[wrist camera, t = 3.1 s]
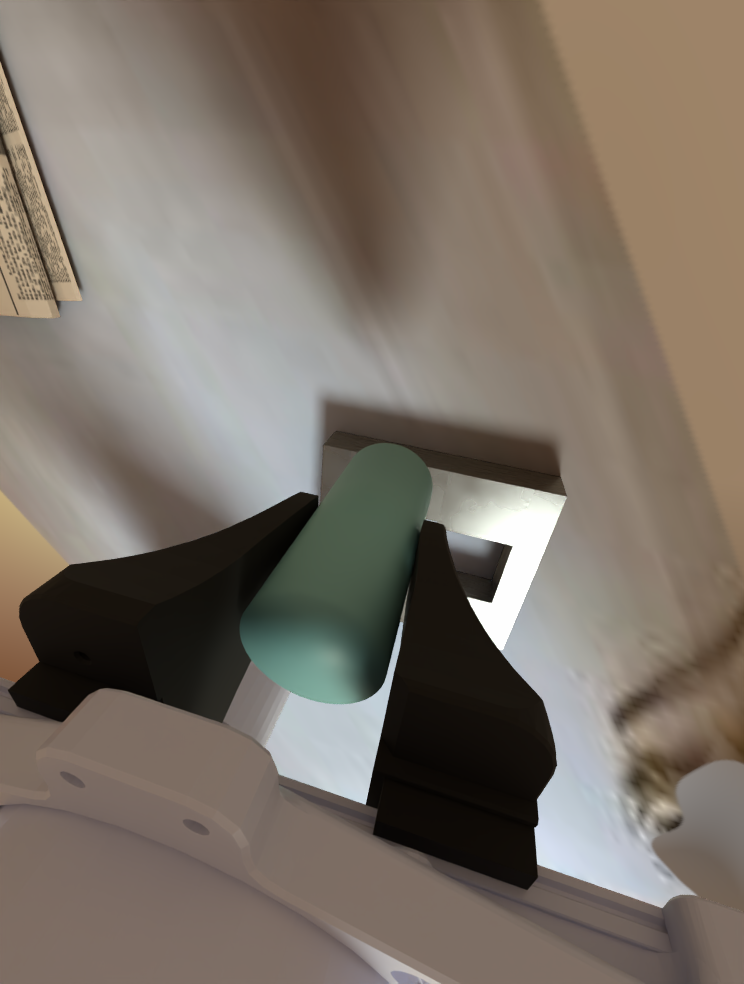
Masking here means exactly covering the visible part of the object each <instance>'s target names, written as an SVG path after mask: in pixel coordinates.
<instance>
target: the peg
mask: <svg viewBox="0 0 744 984" xmlns="http://www.w3.org/2000/svg"><path fill="white" fill-rule="evenodd" d="M432 490H433V483H432V477H431V474H430V472H429V470H428V468H427V466H426V464H425V463H424V462H423V461H422V459H421V458H420V457H419V456H418V455H416V454H415V453H414V452H412V451H411V450H409V449H407V448H405V447H403V446H400V445H396V444H391V443H378V444H373V445H370V446H367V447H365V448H363V449H362V450H360V451H359V452H358V453H357V454H356V455H355V456H354V457H353V458H352V460H351V461H350V462H349V464H348V465H347V467H346V468H345V470H344V471H343V472H342V474H341V475H340V477H339V478H338V479H337V481H336V482H335V484H334V485H333V487H332V488H331V489H330V491H329V492H328V494H327V495H326V496H325V498H324V499H323V501H322V502H321V504H320V505H319V506H318V508H317V509H316V511H315V512H314V513H313V515H312V516H311V518H310V519H309V521H308V522H307V523H306V525H305V526H304V528H303V529H302V530H301V532H300V533H299V535H298V536H297V538H296V539H295V540H294V542H293V543H292V545H291V546H290V547H289V549H288V550H287V552H286V553H285V555H284V556H283V557H282V559H281V560H280V562H279V563H278V564H277V566H276V567H275V569H274V570H273V572H272V573H271V574H270V576H269V577H268V579H267V580H266V581H265V583H264V584H263V586H262V587H261V589H260V590H259V591H258V593H257V594H256V596H255V597H254V598H253V600H252V601H251V603H250V604H249V606H248V607H247V608H246V610H245V611H244V613H243V615H242V617H241V621H240V637H241V641H242V644H243V646H244V648H245V651H246V653H247V654H248V656H249V657H250V659H251V660H252V661H253V663H254V664H255V665H256V666H257V667H258V668H259V669H260V670H261V672H263V673H264V674H265V675H266V676H267V677H268V678H270V679H271V680H272V681H274V682H275V683H276V684H278V685H279V686H281V687H283V688H284V689H286V690H288V691H290V692H292V693H294V694H296V695H299V696H301V697H304V698H307V699H310V700H314V701H317V702H322V703H329V704H350V703H355V702H360V701H362V700H365V699H367V698H369V697H371V696H372V695H374V694H375V693H376V692H377V691H378V690H379V689H380V688H381V687H382V685H383V683H384V681H385V678H386V675H387V671H388V667H389V663H390V659H391V655H392V651H393V647H394V643H395V639H396V635H397V631H398V627H399V623H400V619H401V615H402V611H403V607H404V603H405V599H406V595H407V591H408V587H409V583H410V579H411V575H412V571H413V567H414V561H415V555H416V550H417V545H418V540H419V536H420V531H421V527H422V524H423V521H424V520H426V516H427V512H428V508H429V504H430V500H431V496H432Z"/></svg>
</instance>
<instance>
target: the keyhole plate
mask: <svg viewBox="0 0 744 984" xmlns="http://www.w3.org/2000/svg"><path fill="white" fill-rule="evenodd" d="M378 443H391V444H396V445H400V446H403V447H405V448H407V449H409V450H411V451H412V452H414V453H415V454H416V455H418V456H419V457H420V458H421V459H422V461H423V462H424V463H425V464H426V466H427V468H428V470H429V472H430V474H431V477H432V483H433V490H432V496H431V500H430V504H429V508H428V512H427V516H426V519H428V520H433V521H437V523H440V524H443V525H444V526H445V527H446V530H448V531H452V532H456V533H460V534H465V535H469V536H473V537H477V538H482V539H486V540H490V541H494V542H499V543H503V544H505V545H504V548H503V551H502V553H501V556H500V559H499V562H498V565H497V568H496V570H495V573H494V576H493V579H492V580H489V579H485V578H481V577H477V576H473V575H469V574H465V573H461V572H457V571H456V572H457V575H458V577H459V580H460V582H461V585H462V587H463V589H464V592H465V594H466V596H467V598H468V600H469V602H470V604H471V606H472V608H473V610H474V612H475V613H476V615H477V617H478V619H479V620H480V622H481V624H482V625H483V627H484V629H485V630H486V632H487V633H488V635H489V636H490V637H491V639H492V640H493V642H494V643H495V645H496V646H497V648H498V649H501V650H503V647H504V645H505V643H506V640H507V638H508V635H509V633H510V631H511V628H512V626H513V624H514V621H515V619H516V617H517V614H518V612H519V609H520V607H521V605H522V602H523V600H524V598H525V595H526V593H527V590H528V588H529V586H530V583H531V581H532V579H533V576H534V574H535V571H536V569H537V567H538V564H539V562H540V560H541V557H542V555H543V552H544V550H545V548H546V545H547V543H548V541H549V538H550V536H551V533H552V531H553V529H554V526H555V524H556V522H557V519H558V517H559V515H560V512H561V510H562V507H563V505H564V503H565V500H566V498H567V495H566V492H565V489H564V485H563V482H562V479H561V477H557V476H553V475H548V474H543V473H538V472H533V471H528V470H523V469H518V468H514V467H509V466H504V465H499V464H494V463H489V462H484V461H479V460H475V459H470V458H465V457H460V456H455V455H450V454H445V453H441V452H436V451H431V450H426V449H421V448H416V447H411V446H406V445H402V444H397V443H392V442H387V441H382V440H377V439H372V438H367V437H363V436H358V435H353V434H348V433H343V432H338V431H336V432H335V433H334V434H333V435H332V436H331V437H330V438H329V439H328V440H327V442H326V443H325V444H324V445H323V463H322V483H321V502H322V501H323V499H324V498H325V496H326V495H327V494H328V492H329V491H330V489H331V488H332V487H333V485H334V484H335V482H336V481H337V479H338V478H339V477H340V475H341V474H342V472H343V471H344V470H345V468H346V467H347V465H348V464H349V462H350V461H351V460H352V458H353V457H354V456H355V455H356V454H357V453H358V452H359V451H360V450H362V449H363V448H365V447H367V446H370V445H373V444H378ZM320 504H321V503H320ZM409 584H410V583H409ZM408 589H409V587H408ZM407 594H408V591H407ZM406 600H407V595H406V599H405V603H404V607H403V611H402V615H401V619H400V622H403V623H404V615H405V607H406Z"/></svg>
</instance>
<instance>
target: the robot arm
mask: <svg viewBox="0 0 744 984" xmlns="http://www.w3.org/2000/svg"><path fill="white" fill-rule="evenodd" d="M317 508H318V496H317V495H313V494H308V493H304V492H300V493H297V494H295V495H293V496H291V497H289V498H288V499H286V500H284V501H282V502H280V503H278V504H276V505H274V506H272V507H270V508H269V509H267V510H265V511H263V512H261V513H259V514H257V515H255V516H253V517H251V518H248V519H246V520H244V521H242V522H240V523H238V524H235V525H233V526H231V527H229V528H226V529H224V530H222V531H219V532H216V533H214V534H211V535H208V536H205V537H203V538H200V539H197V540H194V541H191V542H187V543H183V544H180V545H176V546H173V547H169V548H165V549H162V550H158V551H153V552H149V553H144V554H139V555H134V556H129V557H123V558H117V559H111V560H104V561H96V562H88V563H81V564H71V565H69V566H68V567H67V568H65V569H64V570H62V571H61V572H60V573H59V574H57V575H56V576H54V577H53V578H51V579H50V580H49V581H47V582H46V583H45V584H43V585H42V586H40V587H39V588H38V589H36V590H35V591H33V592H32V593H31V594H29V595H28V596H26V597H25V598H24V599H23V600H22V602H21V604H20V608H19V618H20V621H21V624H22V627H23V629H24V631H25V633H26V635H27V637H28V639H29V641H30V643H31V645H32V647H33V649H34V651H35V653H36V656H37V657H38V659H39V661H40V662H39V663H38V664H36V665H35V666H34V667H33V668H32V669H31V670H30V671H28V672H27V673H26V674H25V675H24V676H23V677H22V678H20V679H19V680H18V681H17V682H16V683H14V682H12V681H9V680H6V679H3V678H0V984H744V911H741V910H738V909H735V908H732V907H729V906H726V905H723V904H720V903H717V902H714V901H711V900H708V899H706V898H702V897H698V896H694V895H679V896H676V897H673V898H672V899H670V900H669V901H668V902H667V903H666V905H665V906H664V907H663V908H660V907H657V906H654V905H651V904H648V903H645V902H642V901H640V900H637V899H634V898H631V897H628V896H625V895H622V894H620V893H617V892H614V891H611V890H608V889H605V888H602V887H599V886H597V885H594V884H591V883H588V882H585V881H582V880H579V879H577V878H574V877H571V876H568V875H565V874H562V873H559V872H556V871H554V870H551V869H548V868H545V867H542V866H539V865H537V858H536V845H535V832H534V827H536V826H537V825H538V819H539V818H538V807H537V799H538V797H539V796H540V794H541V793H542V791H543V790H544V788H545V787H546V785H547V784H548V782H549V781H550V779H551V778H552V776H553V774H554V772H555V769H556V766H557V762H556V750H555V743H554V739H553V734H552V730H551V727H550V723H549V719H548V716H547V713H546V709H545V706H544V703H543V700H542V699H541V698H540V697H539V695H538V694H537V693H536V692H535V691H534V690H533V689H532V688H531V687H530V686H529V685H528V684H527V683H526V681H525V680H524V679H523V678H522V677H521V676H520V675H519V674H518V673H517V672H516V671H515V669H514V668H513V667H512V666H511V665H510V663H509V662H508V661H507V660H506V658H505V657H504V656H503V655H502V653H501V652H500V650H499V649H498V648H497V646H496V645H495V643H494V642H493V640H492V639H491V637H490V636H489V635H488V633H487V632H486V630H485V629H484V627H483V625H482V624H481V622H480V620H479V619H478V617H477V615H476V613H475V612H474V610H473V608H472V606H471V604H470V602H469V600H468V598H467V596H466V594H465V592H464V589H463V587H462V585H461V582H460V580H459V577H458V575H457V572H456V569H455V566H454V563H453V560H452V557H451V554H450V550H449V546H448V541H447V536H446V527H445V526H444V525H443V524H440V523H436V522H431V521H427V520H424V521H423V524H422V527H421V531H420V536H419V540H418V545H417V550H416V555H415V561H414V567H413V571H412V575H411V579H410V584H409V589H408V594H407V600H406V607H405V615H404V623H403V630H402V638H401V646H400V651H399V655H398V659H397V663H396V667H395V671H394V676H393V681H392V686H391V690H390V695H389V700H388V705H387V709H386V714H385V719H384V723H383V728H382V733H381V737H380V742H379V746H378V751H377V755H376V759H375V764H374V768H373V773H372V778H371V783H370V788H369V792H368V797H367V802H366V805H364V804H362V803H359V802H356V801H353V800H350V799H347V798H344V797H341V796H339V795H336V794H333V793H330V792H327V791H324V790H321V789H319V788H316V787H313V786H310V785H307V784H304V783H301V782H298V781H296V780H293V779H290V778H287V777H284V776H281V775H279V774H278V771H277V768H276V765H275V763H274V761H273V759H272V756H271V754H270V752H269V751H268V750H267V749H266V748H265V746H266V744H267V742H268V740H269V737H270V735H271V733H272V731H273V729H274V727H275V724H276V722H277V720H278V718H279V716H280V714H281V712H282V709H283V707H284V705H285V703H286V701H287V699H288V697H289V694H290V691H288V690H286V689H284V688H283V687H281V686H279V685H278V684H276V683H275V682H274V681H272V680H271V679H270V678H268V677H267V676H266V675H265V674H264V673H263V672H261V670H260V669H259V668H258V667H257V666H256V665H255V664H254V663H253V661H252V660H251V659H250V657H249V656H248V654H247V653H246V651H245V648H244V646H243V644H242V641H241V637H240V621H241V617H242V615H243V613H244V611H245V610H246V608H247V607H248V606H249V604H250V603H251V601H252V600H253V598H254V597H255V596H256V594H257V593H258V591H259V590H260V589H261V587H262V586H263V584H264V583H265V581H266V580H267V579H268V577H269V576H270V574H271V573H272V572H273V570H274V569H275V567H276V566H277V564H278V563H279V562H280V560H281V559H282V557H283V556H284V555H285V553H286V552H287V550H288V549H289V547H290V546H291V545H292V543H293V542H294V540H295V539H296V538H297V536H298V535H299V533H300V532H301V530H302V529H303V528H304V526H305V525H306V523H307V522H308V521H309V519H310V518H311V516H312V515H313V513H314V512H315V511H316V509H317Z"/></svg>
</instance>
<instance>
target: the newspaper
mask: <svg viewBox="0 0 744 984" xmlns="http://www.w3.org/2000/svg"><path fill="white" fill-rule="evenodd" d="M55 300H57V301H82V298H81V295H80V292H79V289H78V286H77V283H76V280H75V277H74V274H73V272H72V269H71V266H70V263H69V260H68V257H67V254H66V251H65V248H64V246H63V243H62V240H61V237H60V234H59V231H58V228H57V225H56V222H55V219H54V217H53V214H52V211H51V208H50V205H49V202H48V199H47V196H46V193H45V190H44V188H43V185H42V182H41V179H40V176H39V173H38V170H37V167H36V164H35V161H34V159H33V156H32V153H31V150H30V147H29V144H28V141H27V138H26V135H25V132H24V130H23V127H22V124H21V121H20V118H19V115H18V112H17V109H16V106H15V103H14V101H13V98H12V95H11V92H10V89H9V86H8V83H7V80H6V77H5V74H4V72H3V69H2V66H1V63H0V315H5V316H17V317H29V318H58V317H60V315H59V312H58V309H57V306H56V303H55Z"/></svg>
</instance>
